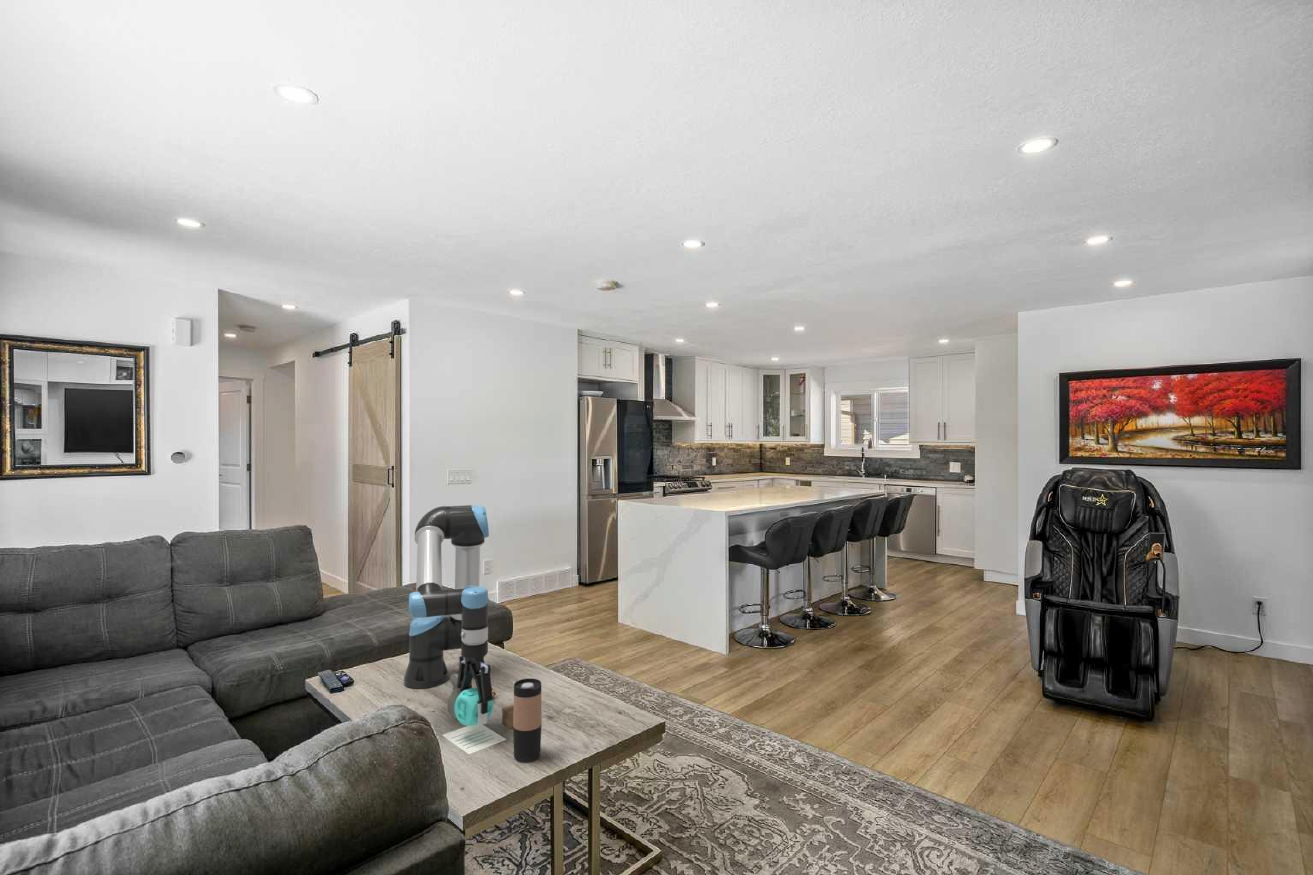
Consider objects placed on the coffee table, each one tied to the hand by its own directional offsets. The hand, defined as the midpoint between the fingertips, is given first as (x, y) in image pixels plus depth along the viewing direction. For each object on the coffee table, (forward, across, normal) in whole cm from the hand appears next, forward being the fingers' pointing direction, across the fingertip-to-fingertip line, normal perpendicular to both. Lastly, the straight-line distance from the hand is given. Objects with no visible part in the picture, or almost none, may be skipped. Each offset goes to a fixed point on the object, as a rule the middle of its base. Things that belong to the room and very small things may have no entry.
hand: (474, 718), depth 180 cm
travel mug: (+6, +20, +5) cm, 21 cm away
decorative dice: (+1, 0, 0) cm, 1 cm away
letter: (+6, 0, 0) cm, 6 cm away
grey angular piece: (+6, -18, +7) cm, 20 cm away
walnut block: (+6, 0, +13) cm, 14 cm away
